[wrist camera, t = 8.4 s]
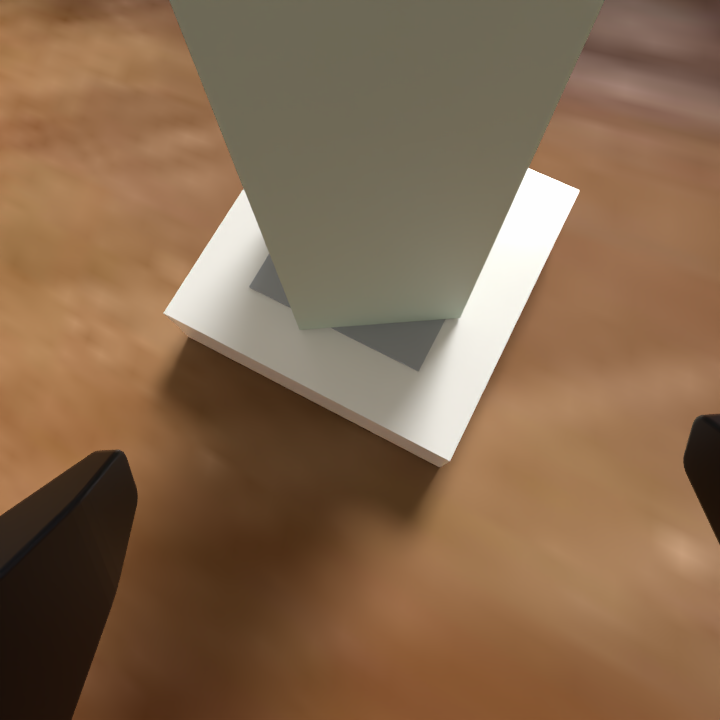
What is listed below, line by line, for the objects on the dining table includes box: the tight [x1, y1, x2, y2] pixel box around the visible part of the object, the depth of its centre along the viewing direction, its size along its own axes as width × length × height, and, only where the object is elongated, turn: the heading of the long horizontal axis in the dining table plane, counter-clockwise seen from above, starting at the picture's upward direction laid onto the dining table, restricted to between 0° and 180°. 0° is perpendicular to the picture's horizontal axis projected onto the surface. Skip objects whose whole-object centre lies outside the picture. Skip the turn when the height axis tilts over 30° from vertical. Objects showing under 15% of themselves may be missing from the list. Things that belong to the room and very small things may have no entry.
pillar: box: [169, 0, 605, 330], centre depth 12 cm, size 5×5×14 cm
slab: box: [164, 168, 580, 467], centre depth 20 cm, size 10×10×3 cm
